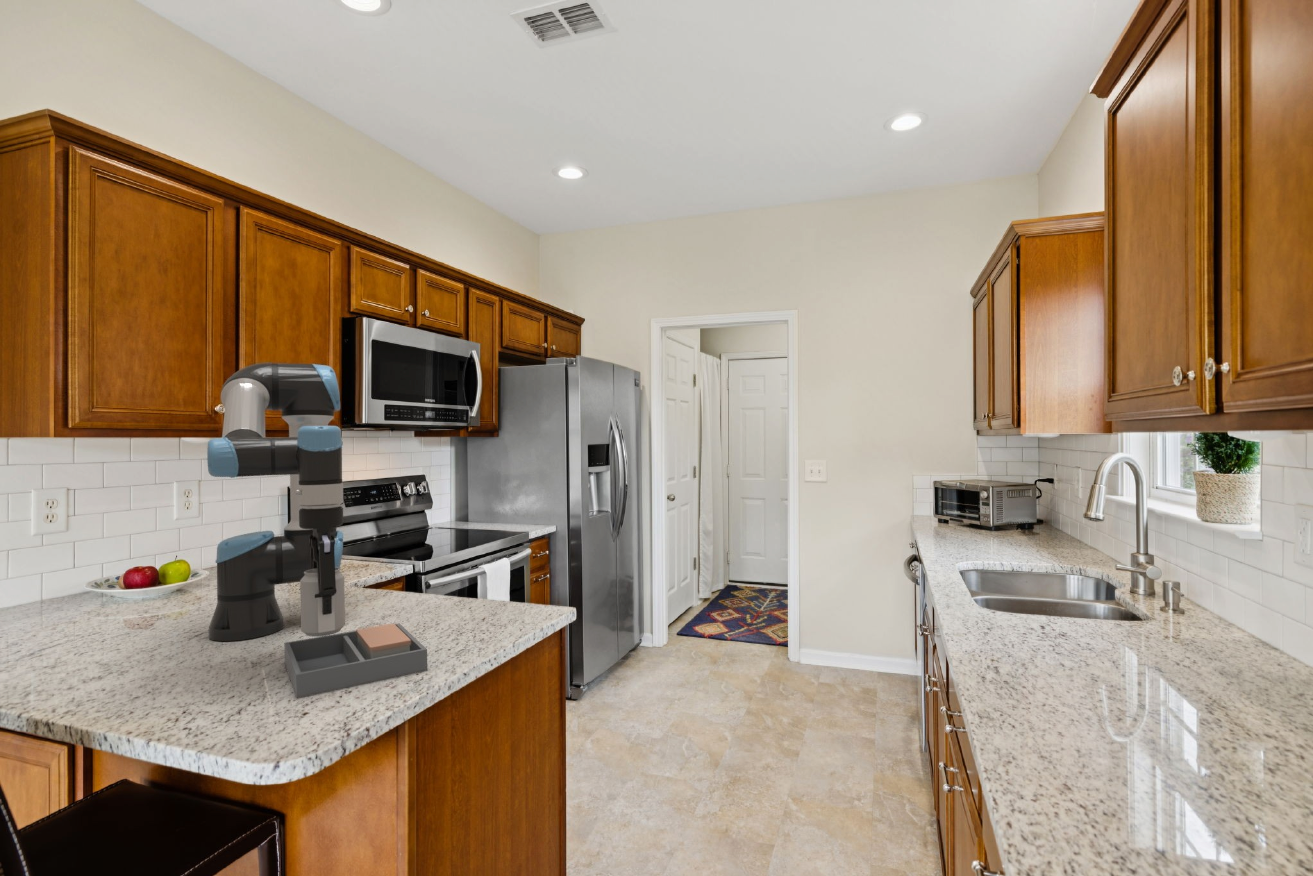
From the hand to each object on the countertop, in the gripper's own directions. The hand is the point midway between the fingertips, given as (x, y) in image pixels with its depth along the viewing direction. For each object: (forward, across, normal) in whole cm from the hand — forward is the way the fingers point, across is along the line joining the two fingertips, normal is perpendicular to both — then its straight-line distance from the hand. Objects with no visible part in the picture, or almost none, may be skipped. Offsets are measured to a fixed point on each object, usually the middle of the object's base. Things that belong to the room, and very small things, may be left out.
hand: (323, 625), depth 124 cm
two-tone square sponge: (+9, 0, +11) cm, 14 cm away
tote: (+10, 0, +5) cm, 11 cm away
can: (+1, 0, 0) cm, 1 cm away
